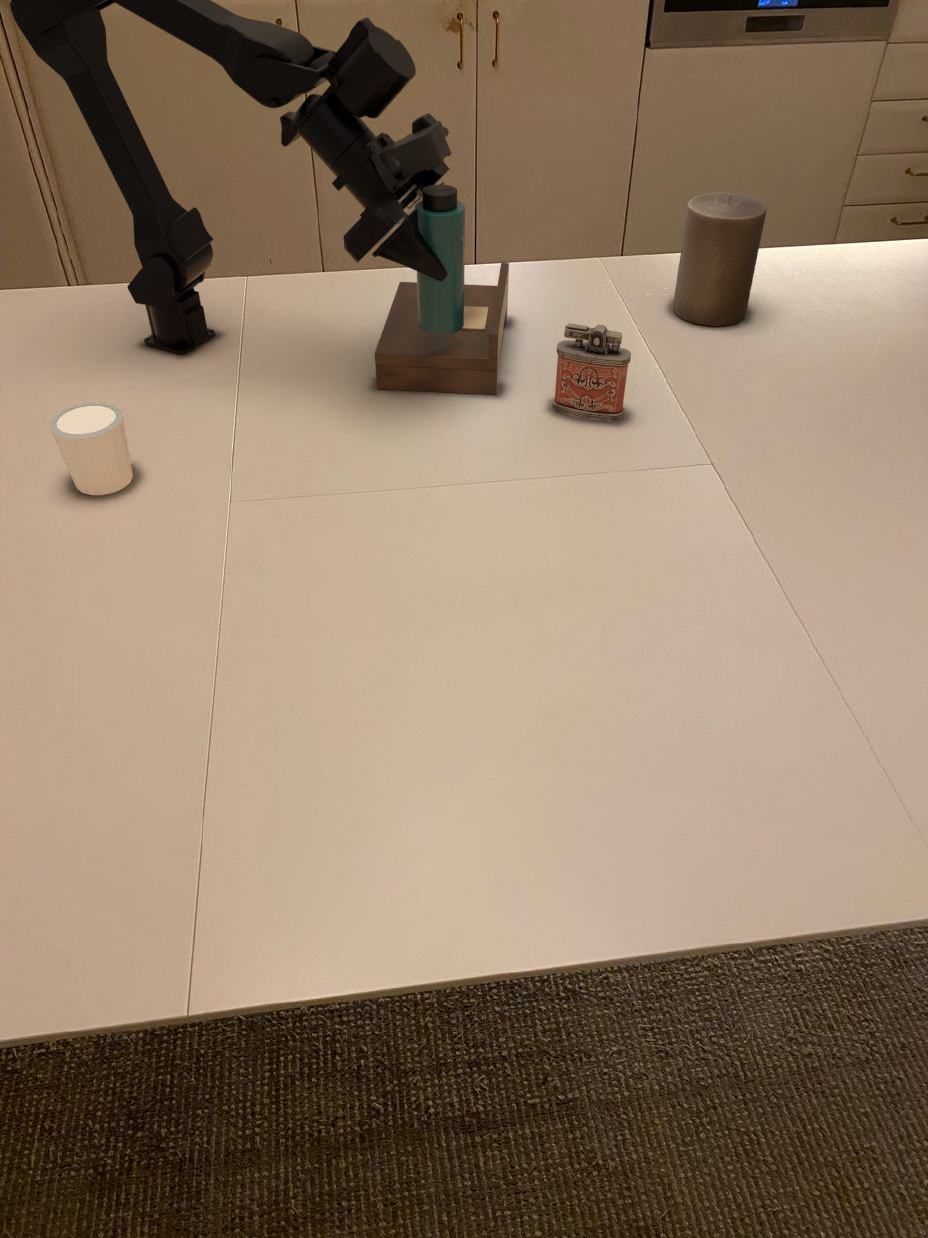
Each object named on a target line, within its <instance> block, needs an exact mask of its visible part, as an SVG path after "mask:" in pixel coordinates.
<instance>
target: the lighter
mask: <svg viewBox="0 0 928 1238" xmlns="http://www.w3.org/2000/svg"><path fill="white" fill-rule="evenodd" d="M563 334H564V335H563V337H564V338H566V339H568V340H566V339H564V340H561V341H559V342H558V343H557V345H556V354H557V364H556V375H555V376H556V377H555V389H554V397H553V399H552V410H553V411H554V412H556V413H558V414H563V415H566V416H570V417H574V418H579V419H582V420H592V421H597V422H610V423H616V422H619V421H621V420H622V419H623V418H624V411H625V408H624V400H625V391H626V385H627V376H628V368H629V364H630V363H631V359H632V352H631V351H630V350H628V349H627V348H625V347H621V344H622V339H623V333H622V332H621V331H615V330H608V328H607V327H606V326H605V324H597V325H595V327H590V326H589V325H584V324H578V323H572V322H571V323H570V322H569V323H567V324H565V326H564V332H563ZM571 339H572V340H571Z"/></svg>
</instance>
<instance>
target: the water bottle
mask: <svg viewBox="0 0 928 1238" xmlns="http://www.w3.org/2000/svg"><path fill="white" fill-rule="evenodd" d="M422 194H423V200H422V201H420V202H418V203H417V204H416V206H415V210H416V209H417V212H418V229H419V232H420V233H421V235H422V236H423V238H424V239H425V240H426V242H427V243H428V245H429V246H430V248H431V249H432V250H433V252H434V253H435V255H436V256H437V258H438V259H439V260H440V262H441V263H442V265H443V267H444V268H445V270H446V272H447V273H448V276H447V277H446V278H445V279H444V280H443V281H438V280H436V279H434V278H431V277H429V276H427V275H425V274H422V273H420V272H418V271H416V282H417V301H418V326H419V328H420V329H421V330H423V331H425V332H427V333H431V334H451V333H455V332H457V331H459V330H461V329H462V328H463V326H464V284H465V263H466V262H465V260H466V259H465V255H466V254H465V253H466V252H465V251H466V249H465V248H466V246H465V245H466V243H465V242H466V206H465V204H464V203H463V202H461V200H458V189H457V188H456V187H455V186H452V185H449V184H444V185H440V184H434V185H431V186H427V187H425V188H424V189H423V191H422Z"/></svg>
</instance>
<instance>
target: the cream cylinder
mask: <svg viewBox="0 0 928 1238" xmlns="http://www.w3.org/2000/svg"><path fill="white" fill-rule="evenodd" d="M49 429H50V432H51V434H52V437H53V439H54V442H55V444H56V445H57V448H58V450H59V452H60V455H61V457H62V459H63V461H64V464H65V466H66V468H67V470H68V473H69V474H70V477H71V479H72V481H73V483H74V487H75V489H76V490H78V491H79V492H80V493H81V494H85V495H89V496H105V495H110V494H114V493H117V492H119V491H121V490H123V489H125V488H126V487H127V486H129V484H131V482H132V480H133V477H134V474H133V469H132V462H131V457H130V451H129V445H128V437H127V432H126V426H125V420H124V415H123V411H122V409H120V408H119V407H118V406H116V405H115V404H110V403H107V402H86V403H80V404H75V405H73V406H70V407H66V408H65V409H63V410H61V411H60V412H58V413H57V414H55V415H54V416H53V417H52V419H50V422H49Z"/></svg>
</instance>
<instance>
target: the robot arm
mask: <svg viewBox="0 0 928 1238" xmlns="http://www.w3.org/2000/svg"><path fill="white" fill-rule="evenodd" d="M114 4H117V5H118V6H120V7H121V8H123V9H125V10H127V11H129V12H130V13H133V14H134V15H135V16H137V17H139V18H141V19H143V20H144V21H146V22H148V23H150V24H151V25H154V26H155V27H156V28H158V29H160V30H162V31H163V32H164V33H167V34H169V35H170V36H173V37H174V38H176V39H177V40H180V41H181V42H183V43H184V44H186V45H188V46H189V47H192V48H193V49H195V50H197V51H198V52H200V53H202V54H204V55H206V56H207V57H209V58H211V59H212V60H213V61H215V62H216V63H217V64H218V65H219V66H221V67H222V69H223V70H224V72H225V73H226V74H227V76H228V77H229V78H230V80H231V82H233V84H235V85H236V86H237V87H238V88H240V89H241V90H242V91H243V92H244V93H246V94H247V95H248V96H250V97H251V98H252V99H253V100H255V101H256V102H257V103H258V104H260V105H261V106H263V107H266V108H269V109H278V108H282V107H284V106H286V105H288V104H290V103H291V102H293V101H296V100H297V99H298V98H300V97H302V96H303V95H305V94H308V93H310V92H311V91H313V90H314V89H317V88H318V87H320V86H321V85H323V84H324V83H327V82H328V83H329V84H330V85H329V86H328V87H327V88H326V90H324V92H323V93H322V94H318V93H312V94H311V93H310V94H309V95H307V97H306V98H305V100H304V101H303V102H302V103H301V105H300V106H299V107H298V108H297V109H296V111H291V110H290V111H287V112H286V113H283V114H282V115H281V116H279V122H280V126H281V127H280V128H281V132H280V144H281V146H283V147H288V146H289V145H291V144H292V143H294V142H295V141H297V140H299V139H300V138H302V139H303V140H304V142H305V143H306V144H307V145H308V146H309V148H310V149H312V151H313V152H314V153H315V154H316V155H317V157H318V158H319V159H320V160H321V161H322V162H323V164H325V166H326V167H327V168H328V169H329V170H330V171H331V173H333V175H334V176H335V177H336V178H335V179H334V180H333V181H332V182H331V184H332V186H333V187H334V188H335V189H336V190H337V192H340V191H341V190H343V188H346V190H347V191H348V192H349V193H350V194H351V196H352V197H354V199H355V200H356V201H357V202H358V203H359V205H360V206H361V207H362V208H363V209H364V210H363V211H362V212H361V213H360V214H359V217H360V218H359V219H358V220H357V221H356V222H355V223H354V224H353V226H351V227H350V229H348V231H347V232H345V234H344V235H343V248H344V249H343V250H345V251H346V252H347V254H348V255H349V256H350V257H351V258H352V259H353V260H354V261H355V262H356V263H357V264H358V263H359V262H360V261H361V260H362V259H363V258H364V257H365V256H366V255H367V254H368V253H369V252H370V251H371V250H372V249H373V248H374V247H375V246H377V245H378V247H377V248H376V249H375V250H374V251H373V252H372V253H371V256H372V257H373V258H377V257H380V258H381V259H382V258H383V259H386V260H388V261H391V262H393V263H397V264H399V265H401V266H404V267H406V268H408V269H411V270H413V271H416V272H417V271H418V272H420V273H422V274H425V275H427V276H429V277H431V278H434V279H436V280H438V281H443V280H444V279H445V278H446V277H447V276H448V273H447V272H446V270H445V268H444V267H443V265H442V263H441V262H440V260H439V259H438V258H437V256H436V255H435V253H434V252H433V250H432V249H431V248H430V246H429V245H428V243H427V242H426V240H425V239H424V238H423V236H422V235H421V233H420V232H419V229H418V212H417V209H416V210H415V206H416V204H417V203H418V202H420V201H422V200H423V194H422V191H423V189H424V188H425V187H427V186H431V185H436V184H437V182H439V181H440V180H441V179H442V178H443V177H444V176H445V175H446V174H447V173H448V172H449V171H450V167H449V166H448V165H447V163H446V162H445V160H444V159H445V158H447V157H450V156H452V151H451V148H450V146H449V144H448V141H447V139H446V138H447V137H448V136H449V134H450V131H449V129H448V128H447V127H445V126H443V124H442V121H441V120H437V119H436V118H435V117H434V116H433V115H432V114H431V113H430V112H429V113H428V112H427V113H425V114H423V115H420V116H419V117H417V118H416V119H414V120H413V121H412V123H411V133H409V134H407V135H405V136H404V137H402V138H399V139H398V140H394V139H392V137H391V136H390V135H389V134H388V133H384V132H383V131H382V132H380V133H379V134H378V135H376V134H375V133H374V131H372V129H371V128H370V126H368V124H367V123H365V121H364V120H363V119H362V118H365V117H367V118H369V119H378V118H379V117H380V116H381V115H382V114H383V112H384V111H385V110H387V108H388V107H389V106H390V104H392V102H394V100H395V99H396V98H397V97H398V96H399V94H400V93H401V92H402V91H403V90H404V89H405V88H406V87H407V85H408V84H409V83H410V82H411V81H412V80H413V79H414V77H416V73H417V68H416V64H415V61H414V59H413V57H412V56H411V54H410V52H409V50H408V48H406V47H405V45H404V44H403V43H402V41H401V40H399V39H396V38H395V37H394V36H393V35H392V34H390V33H389V32H388V31H386V30H385V29H383V28H381V27H379V26H376V25H375V24H374V23H373V22H372V20H371V19H370V18H369V17H368V16H365V17H363V18H361V19H359V20H358V21H356V23H355V24H354V25H353V27H352V28H351V30H350V31H349V34H348V36H347V38H346V39H345V40H344V41H343V43H342V44H341V46H340V47H339V48H338V49H337V51H336V50H332V49H328V48H324V47H322V46H316V45H313V44H312V42H311V41H310V40H309V39H308V38H307V37H305V36H304V35H303V34H301V33H299V32H298V31H295V30H292V29H289V28H286V27H284V26H281V25H278V24H275V23H272V22H269V21H263V20H258V19H253V18H247V17H244V16H241V15H239V14H236V13H234V12H232V11H230V10H229V9H227V8H225V7H223V6H222V5H220V4H218V3H216V2H215V1H213V0H10V2H9V9H10V13H11V15H12V18H13V20H14V22H15V25H16V26H17V27H18V29H19V31H20V32H21V33H22V35H23V37H24V38H25V39H26V41H27V43H28V44H29V45H30V47H31V48H32V50H33V52H34V53H35V55H36V56H37V57H38V58H39V59H40V60H41V61H43V62H44V63H45V64H46V65H47V66H48V67H49V68H50V69H52V70H53V71H54V72H55V73H56V74H57V75H58V76H60V77H61V79H62V80H63V81H64V82H65V84H66V86H67V87H68V90H69V91H70V94H71V96H72V97H73V99H74V100H73V101H75V103H76V106H77V108H78V109H79V111H80V114H81V115H82V118H83V120H84V121H85V123H86V125H87V128H88V130H89V131H90V133H91V135H92V136H93V140H94V142H95V143H96V146H97V147H98V149H99V152H100V153H101V155H102V157H103V159H104V161H105V163H106V164H107V167H108V169H109V171H110V173H111V175H112V177H113V179H114V181H115V183H116V185H117V186H118V189H119V191H120V193H121V195H122V197H123V199H124V201H125V203H126V204H127V207H128V209H129V210H130V213H131V216H132V226H133V244H134V248H135V251H136V254H137V257H138V259H139V262H140V265H141V268H140V269H139V271H138V272H137V273H136V275H135V276H134V277H133V278H132V280H131V281H130V282H129V283H128V285H127V290H128V292H129V293H130V296H131V298H132V299H133V301H134V303H135V304H137V305H144V306H145V311H146V314H147V318H148V322H149V327H150V331H151V334H150V335H148V336H146V337H145V338H144V339H143V343H144V345H147V346H151V347H155V348H158V349H162V350H165V351H169V352H172V353H175V354H178V355H185V354H187V353H189V352H190V351H193V350H194V349H195V348H197V347H199V346H200V345H202V344H203V343H205V342H206V341H209V340H210V339H212V338H213V337H214V336H216V330H214V329H211V328H208V324H207V319H206V314H205V309H204V306H203V305H202V303H201V302H202V301H201V297H200V292H199V291H197V290H195V287H196V286H198V285H199V284H201V283H203V282H204V281H205V277H206V271H208V269H209V268H210V267H211V265H212V260H213V258H214V250H213V247H212V244H211V243H212V242H213V241H214V238H213V236H212V235H211V234H210V233H209V231H208V230H207V228H206V226H205V224H204V221H203V218H202V215H201V212H200V211H199V209H198V208H197V207H195V206H194V207H192V208H190V209H189V210H187V209H186V208H185V207H183V206H182V205H181V204H179V202H177V201H176V200H175V199H174V198H173V196H172V194H171V193H170V189H168V186H167V184H166V182H165V180H164V178H163V175H162V174H161V171H160V170H159V166H158V165H157V163H156V161H155V159H154V157H153V155H152V153H151V151H150V148H149V146H148V144H147V142H146V140H145V138H144V136H143V133H142V132H141V129H140V128H139V125H138V123H137V121H136V119H135V117H134V115H133V112H132V110H131V109H130V106H129V104H128V101H127V99H126V97H125V96H124V94H123V91H122V89H121V87H120V85H119V83H118V81H117V79H116V77H115V75H114V73H113V70H112V69H111V66H110V64H109V61H108V44H107V43H108V42H107V28H106V26H105V22H104V19H103V16H102V13H101V11H102V10H105V9H106V8H108V7H110V6H112V5H114ZM439 185H445V181H442V182H441V183H440V184H439Z"/></svg>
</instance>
